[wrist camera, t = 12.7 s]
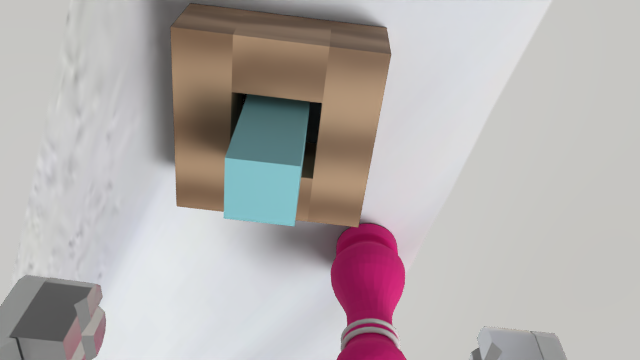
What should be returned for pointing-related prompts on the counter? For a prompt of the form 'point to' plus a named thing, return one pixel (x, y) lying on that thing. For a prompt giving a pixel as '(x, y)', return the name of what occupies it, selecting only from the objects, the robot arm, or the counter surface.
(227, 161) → the teal rectangular block
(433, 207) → the counter surface
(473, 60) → the counter surface
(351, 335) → the pepper mill
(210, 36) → the wooden holder
